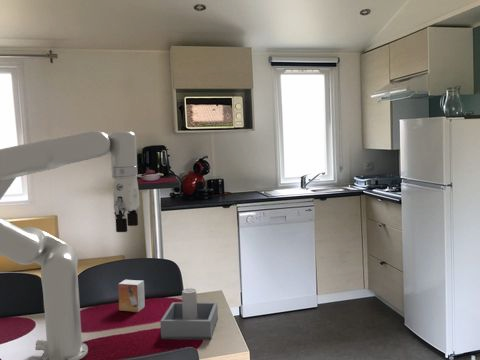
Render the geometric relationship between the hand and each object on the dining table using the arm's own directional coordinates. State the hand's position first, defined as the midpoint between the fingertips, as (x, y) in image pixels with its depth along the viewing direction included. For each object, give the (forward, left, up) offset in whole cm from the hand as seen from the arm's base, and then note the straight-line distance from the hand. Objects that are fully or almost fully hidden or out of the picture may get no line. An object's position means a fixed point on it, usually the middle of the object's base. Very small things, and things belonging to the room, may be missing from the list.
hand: (127, 228), depth 129 cm
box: (+16, +11, -36) cm, 41 cm away
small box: (-10, +28, -37) cm, 47 cm away
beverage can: (+16, +11, -36) cm, 40 cm away
